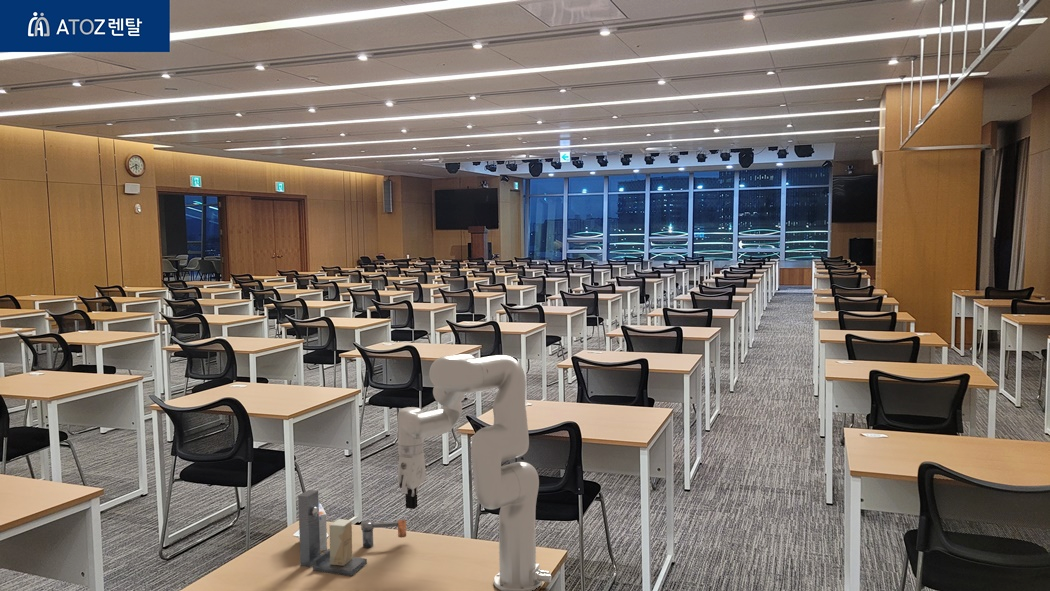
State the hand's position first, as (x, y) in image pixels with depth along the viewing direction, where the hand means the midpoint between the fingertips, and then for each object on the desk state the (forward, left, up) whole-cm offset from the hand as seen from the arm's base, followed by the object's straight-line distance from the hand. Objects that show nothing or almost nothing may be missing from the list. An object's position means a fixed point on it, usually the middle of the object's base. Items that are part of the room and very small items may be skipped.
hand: (411, 507), depth 224 cm
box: (+9, +26, -7) cm, 28 cm away
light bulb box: (+25, +15, -9) cm, 30 cm away
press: (+11, +26, -9) cm, 30 cm away
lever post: (+9, +11, -9) cm, 17 cm away
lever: (+4, +9, -6) cm, 12 cm away
